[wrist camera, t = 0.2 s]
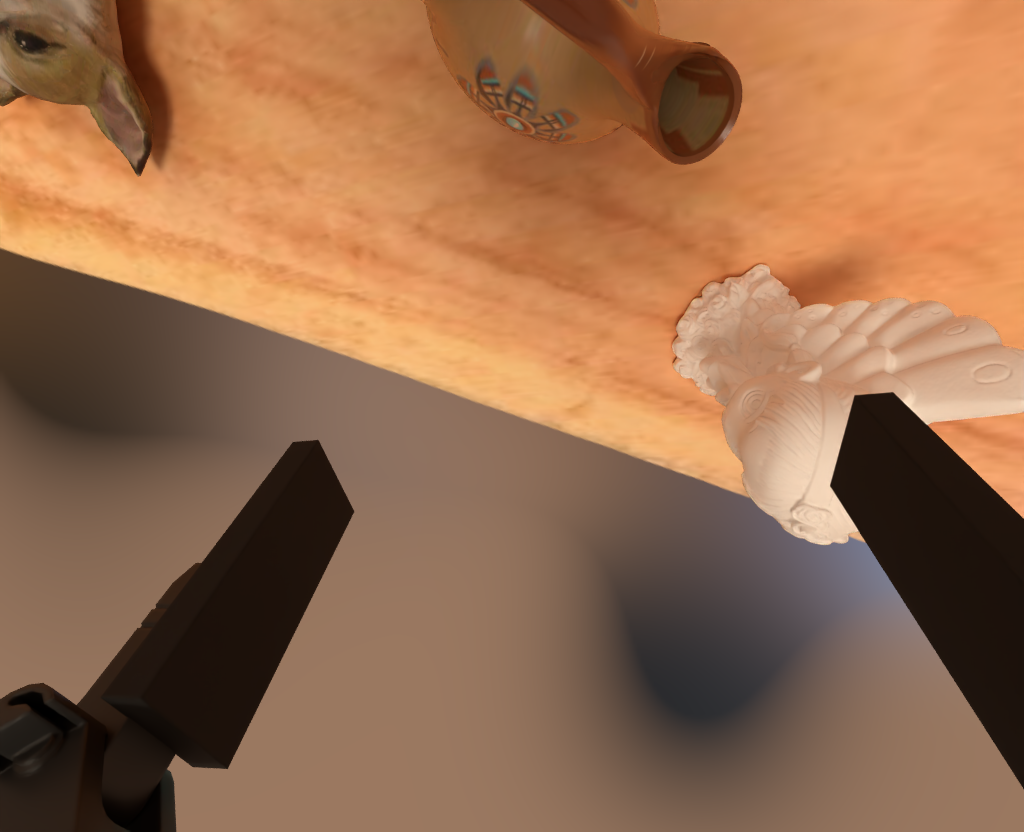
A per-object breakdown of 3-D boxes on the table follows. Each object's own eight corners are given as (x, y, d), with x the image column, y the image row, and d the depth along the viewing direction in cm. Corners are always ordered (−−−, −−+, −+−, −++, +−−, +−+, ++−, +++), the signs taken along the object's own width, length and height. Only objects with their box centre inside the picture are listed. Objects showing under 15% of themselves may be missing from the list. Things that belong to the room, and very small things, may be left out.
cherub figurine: (686, 246, 36) (787, 387, 19) (866, 242, 34) (1135, 391, 18) (662, 395, 43) (720, 587, 27) (809, 396, 42) (963, 599, 26)
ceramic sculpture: (52, -117, 21) (82, 202, 30) (184, -78, 28) (176, 172, 37) (-233, -288, 19) (-110, 108, 28) (-16, -202, 26) (27, 95, 35)
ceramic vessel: (400, 48, 30) (63, -12, 10) (455, -144, 25) (8, -1022, 5) (619, 180, 34) (699, 338, 13) (705, 32, 29) (1047, -80, 8)
